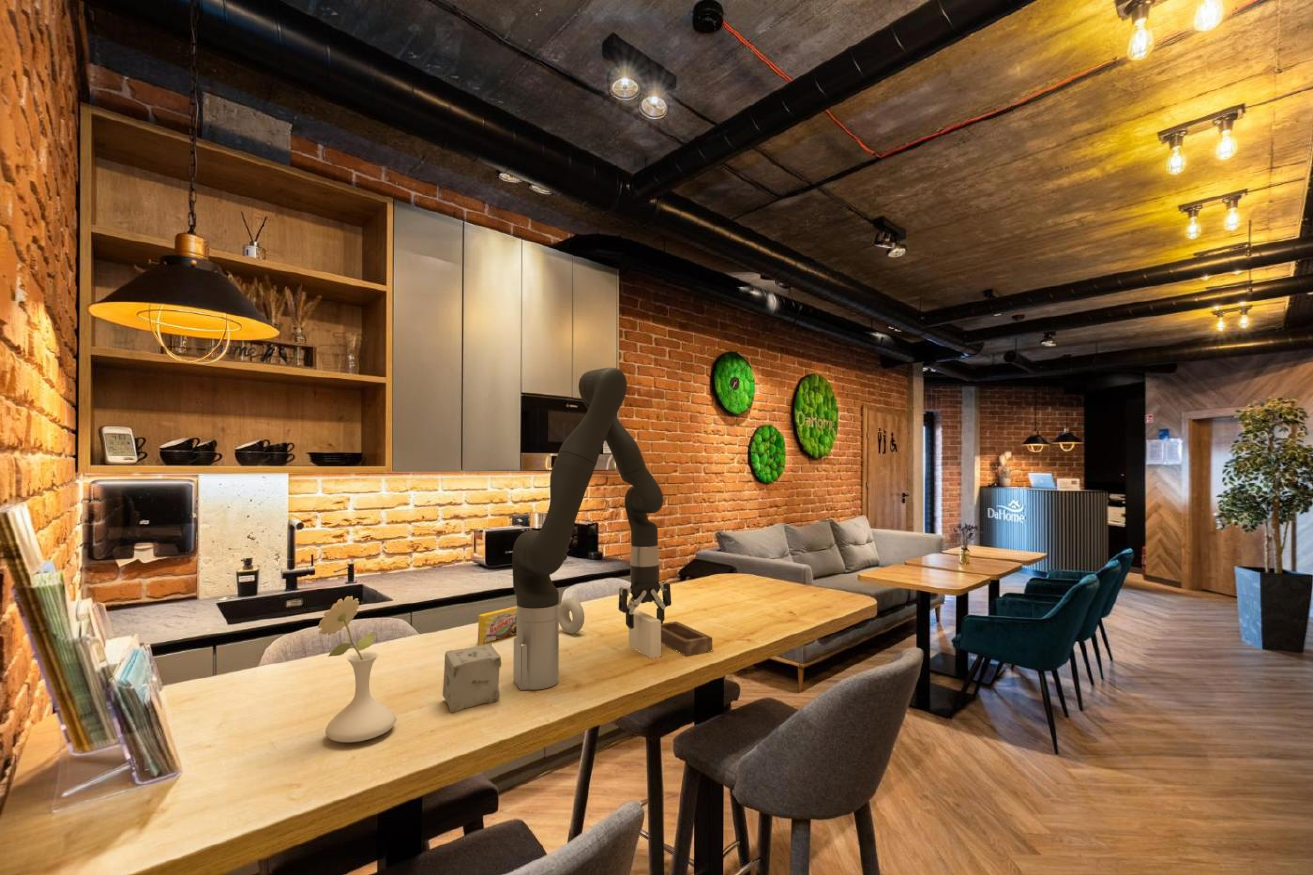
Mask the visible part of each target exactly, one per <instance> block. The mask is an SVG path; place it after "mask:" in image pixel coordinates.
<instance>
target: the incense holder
mask: <svg viewBox="0 0 1313 875" xmlns="http://www.w3.org/2000/svg"><path fill="white" fill-rule="evenodd" d="M443 666H444V668H443V670H444V671H443V685H442V697H443V698H444V700H445V701H446V704H447V706H448V708H449V712H450V713H451V714H452V713H455V712H456V713H457V712H460V711H462V710H463V709H467V708H471V707H475V706H477V705H478V706H479V705H481V704H487V703H488V704H492V703H494V702H497V701H498V700H499V699H500V688H499V684H500V682H499V681H500V668H501V667H502V657H501V655H500V654H499V653H498V652H497V651H496V649H495V647H494V646H493V645H492V644H487V645H481V646H477V645H476V646H471V647H466V648H459V649H452V650H451V649H450V650H447V651H445V653H444V664H443Z"/></svg>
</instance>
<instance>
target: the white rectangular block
mask: <svg viewBox="0 0 1313 875" xmlns="http://www.w3.org/2000/svg"><path fill="white" fill-rule="evenodd" d="M633 614H634V628H633V629H630V628H628V646H629V647H630V646H631V647H630V648H632V649H634V650H635V649H637V650H638V651H637V650H636V651H637V652H639V651H640V652H641V654H642V653H643V654H642V655H644V656H645V655H646V656H645V657H647V658H649V659H650V658H651V659H655V657H657V658H661V657H662V643H661V620H659V619H657V617H655V616H652V615H650V614H648V613H646V612H643V611H642V610H639V609H638V610H634V612H633ZM640 652H639V653H640ZM660 656H661V657H660Z"/></svg>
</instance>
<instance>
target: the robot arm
mask: <svg viewBox="0 0 1313 875" xmlns="http://www.w3.org/2000/svg"><path fill="white" fill-rule="evenodd" d="M627 390H628V381H627V377H626V375H625V374H624V372H623V371H622V370H621V369H619V368H617V367H604V368H598V369H592V370H588V371H586V372H584V373H583V374H582V375H581V377H580V378H579V381H578V392H579V395H580V398H581V399H582V402H583V404H584V406H585V407H586V409H587V412H586V413H585V415H584V417H583V418H582V420H581V421H580V423H579V424H578V425H577V426H576V427H575V428H574V429H573V430H572V431H571V433H570V434H568V436H567V438H566V439H565V440H564V442H562V444H561V446H560V448H559V451H557V452H558V453H557V456H556V458H555V460H554V463H553V465H552V467H551V472H550V477H549V495H550V496H549V506H548V511H547V513H546V515H545V518H544V521H543V523H542V526H541V528H540V530H534V529H532V530H526V531H523V532H522V533H521V534H520V535H519V536H518V537H517V538H516V540H515V542H514V545H513V548H512V586H513V587H512V588H513V591H514V593H515V597H516V606H517V637H513V665H512V666H513V668H512V669H513V672H512V675H513V683H514V684H515V685H516V687H517V688H518V689H519V690H520V691H524V690H535V691H536V690H537V691H538V690H543V689H544V690H545V689H547V688H551V687H554V686H556V685H557V684H559V677H560V676H559V675H560V674H559V673H560V669H559V666H560V665H559V662H560V661H559V660H560V655H559V653H560V650H559V649H560V647H559V646H560V632H559V631H560V624H559V606H560V593H559V590H558V588H557V587H556V586H555V585H554V583H553V582H552V579H551V575H554V574H555V573H557V571H558V570H559V569H560V568H561V566H562V565H563V563H564V562H565V560H566V556H567V553H568V550H569V546H570V543H571V538H572V534H573V530H574V527H575V523H576V520H577V517H578V514H579V511H580V509H581V506H582V503H583V500H584V497H585V495H586V492H587V489H588V486H589V484H590V481H591V480H592V477H593V474H594V471H595V469H596V466H597V463H598V460H599V456H600V454H601V451H602V449H603V447H604V444H605V442H606V444H607V446H608V448H609V451H610V453H611V456H612V458H613V460H614V463H615V466H616V468H617V471H618V473H619V476H620V478H621V480H622V481H623V482H625V483H626V484H629V485H631V486H630V487H628V489H627V491H626V493H625V496H624V509H625V511H626V516H627V521H628V525H629V528H630V552H629V554H630V555H629V556H630V557H629V562H630V563H629V565H630V567H629V568H630V571H629V572H630V573H629V574H630V575H629V576H630V587H623V586H622V587H621V586H620V588H619V589H618V610H619V612H622V613H624V614H625V625H626V626H627V628H628V629H629V628H630V629H633V628H634V614H633V612H634V611H636V609H637V608H638V607H639V606H640V604H645V603H653V602H654V604H655V606H656V619H659V620H661V624H663V623H664V621H665V617H666V616H665V614H666V613H665V609H666V608H668V607H670V606H672V595H671V594H672V593H671V584H670V583H669V582H666V581H662V582H661V583H660V551H659V543H658V542H659V534H658V533H659V532H658V531H659V530H658V526H657V523H655V522H653V521H650V519H649V517H648V514H656V513H658V512H659V511H660V510H661V509H662V507H663V505H664V495H663V491H662V489H661V487H660V486H659V483H658V482H657V481H656V479H655V478H654V477H653V475H652V473H651V472H650V471H649V470H648V468H647V465H646V462H645V460H644V458H643V454H642V452H641V450H640V448H639V446H638V443H637V442H636V441H635V438H634V437H633V436H632V435H631V434H630V432H628V430H627V429H626V428H625V427H624V426H623V424H622V423H621V421H620V419H619V418H618V417H617V414H618V412H619V410H620V408H621V406H622V404H623V402H624V400H625V397H626V395H627ZM660 591H661V593H662V599H661V596H659V592H660ZM630 594H631V597H630V598H629V600H628V597H629V596H630Z"/></svg>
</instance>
